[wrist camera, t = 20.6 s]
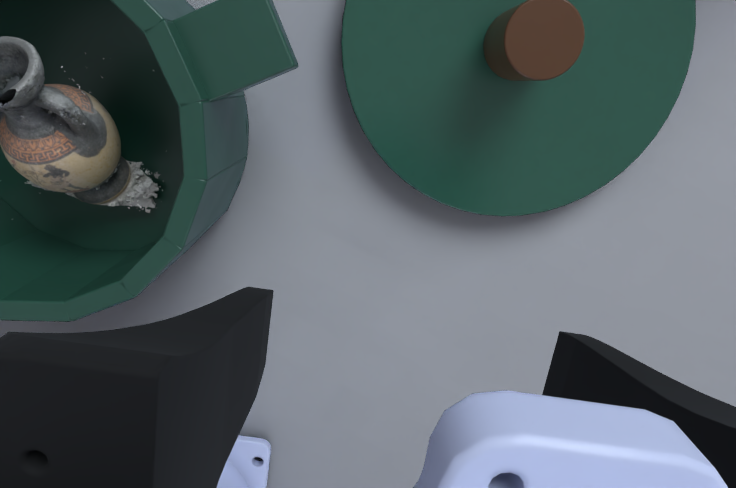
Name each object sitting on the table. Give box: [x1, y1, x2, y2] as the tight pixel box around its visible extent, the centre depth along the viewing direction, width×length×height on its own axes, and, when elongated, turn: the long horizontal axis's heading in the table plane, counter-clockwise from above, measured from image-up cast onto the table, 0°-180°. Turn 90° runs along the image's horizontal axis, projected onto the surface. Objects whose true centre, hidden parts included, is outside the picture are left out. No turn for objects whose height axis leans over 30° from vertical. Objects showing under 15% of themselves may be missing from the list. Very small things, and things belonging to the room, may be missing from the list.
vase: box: [0, 36, 164, 220], centre depth 18 cm, size 5×5×6 cm
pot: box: [0, 0, 298, 322], centre depth 19 cm, size 11×17×6 cm
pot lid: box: [341, 0, 696, 216], centre depth 18 cm, size 12×12×4 cm
